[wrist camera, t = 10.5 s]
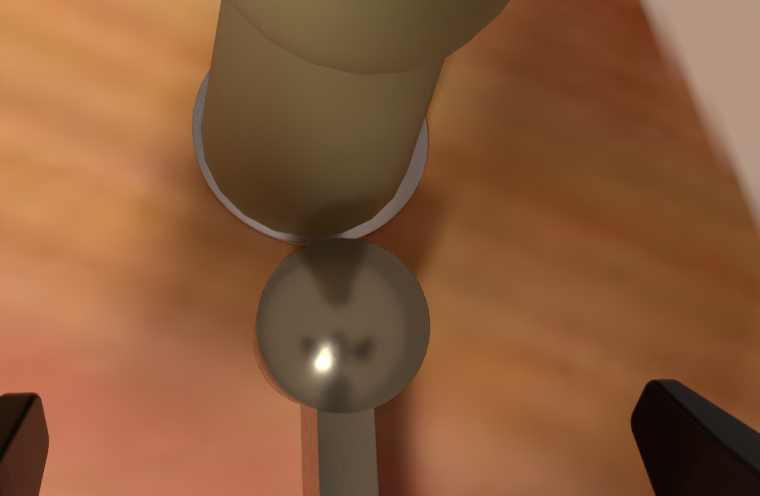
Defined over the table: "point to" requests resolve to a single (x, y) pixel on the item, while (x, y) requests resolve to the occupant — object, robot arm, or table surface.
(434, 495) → the table surface
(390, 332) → the hinge frame
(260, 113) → the olive rounded piece
